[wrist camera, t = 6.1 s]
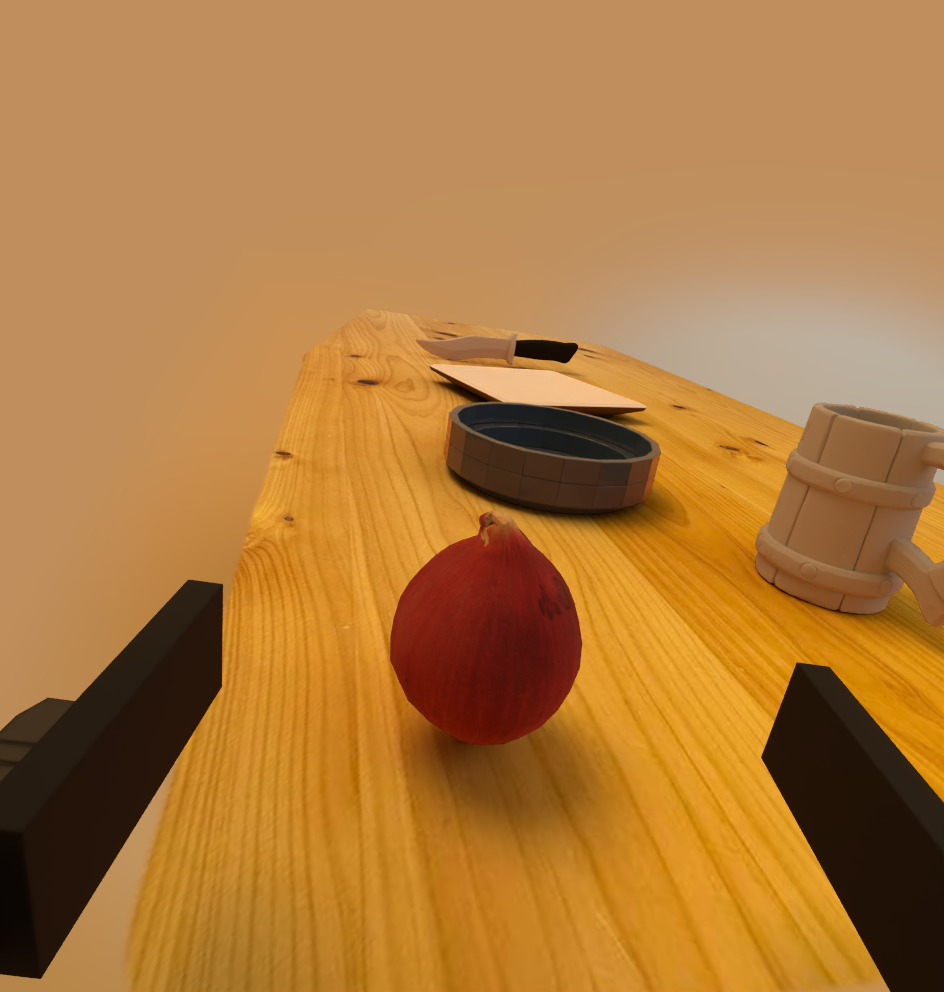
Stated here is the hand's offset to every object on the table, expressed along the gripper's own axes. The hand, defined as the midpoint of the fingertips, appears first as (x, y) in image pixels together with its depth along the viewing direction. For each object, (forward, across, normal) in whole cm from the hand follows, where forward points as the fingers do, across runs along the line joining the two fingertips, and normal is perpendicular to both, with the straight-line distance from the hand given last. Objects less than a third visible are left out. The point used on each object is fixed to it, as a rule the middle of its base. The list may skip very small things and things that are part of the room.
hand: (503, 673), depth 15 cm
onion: (+5, 0, -6) cm, 8 cm away
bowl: (+33, +5, -6) cm, 34 cm away
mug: (+19, +21, -6) cm, 29 cm away
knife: (+87, +2, -6) cm, 87 cm away
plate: (+62, +6, -6) cm, 63 cm away
